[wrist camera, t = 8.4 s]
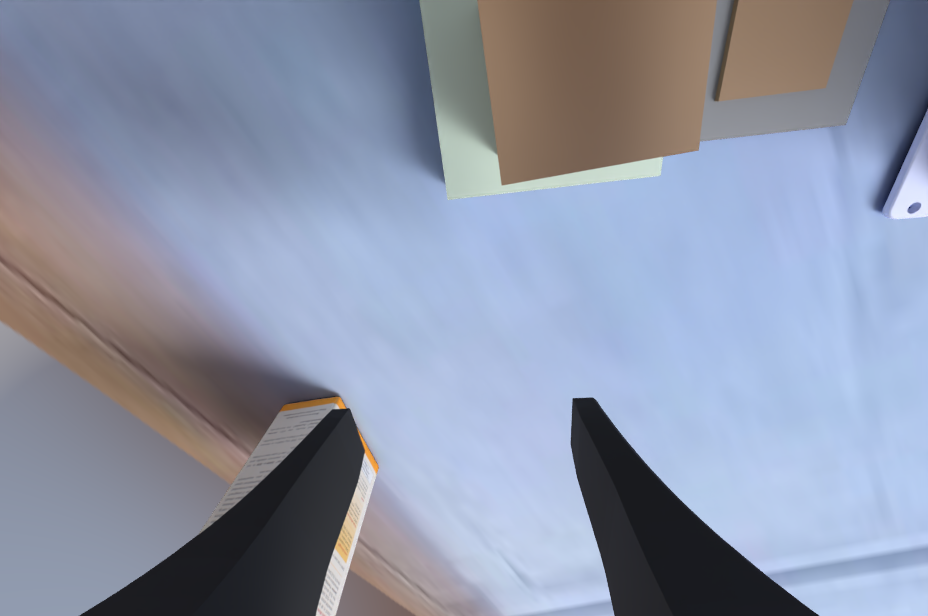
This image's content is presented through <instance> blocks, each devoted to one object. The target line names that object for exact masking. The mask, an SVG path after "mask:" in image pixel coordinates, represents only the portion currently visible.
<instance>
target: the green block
mask: <svg viewBox="0 0 928 616" xmlns="http://www.w3.org/2000/svg"><path fill="white" fill-rule="evenodd" d="M419 2H420V9H421V16H422V23H423V30H424V37H425V44H426V51H427V58H428V65H429V72H430V79H431V86H432V93H433V100H434V107H435V114H436V121H437V128H438V135H439V142H440V149H441V156H442V163H443V170H444V177H445V184H446V191H447V198H448V200H451V199H460V198H469V197H478V196H487V195H495V194H504V193H513V192H522V191H531V190H540V189H548V188H557V187H566V186H575V185H584V184H592V183H601V182H610V181H619V180H628V179H636V178H645V177H654V176H660V175H661V168H662V160H663V157H658V158H653V159H647V160H642V161H636V162H631V163H625V164H620V165H614V166H608V167H603V168H597V169H592V170H586V171H581V172H575V173H569V174H564V175H558V176H553V177H547V178H542V179H536V180H530V181H525V182H519V183H514V184H508V185H503V186H502V184H501V177H500V169H499V162H498V154H497V147H496V139H495V131H494V124H493V116H492V109H491V101H490V94H489V86H488V78H487V71H486V63H485V56H484V48H483V41H482V33H481V25H480V18H479V10H478V3H477V0H419Z"/></svg>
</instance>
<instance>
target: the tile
mask: <svg viewBox="0 0 928 616" xmlns="http://www.w3.org/2000/svg"><path fill="white" fill-rule="evenodd" d="M889 2H890V0H717V5H716V13H715V21H714V29H713V37H712V45H711V53H710V62H709V70H708V78H707V86H706V94H705V102H704V110H703V118H702V126H701V135H700V141H709V140H718V139H727V138H735V137H744V136H753V135H762V134H771V133H779V132H788V131H797V130H806V129H815V128H823V127H832V126H841V125H846V123H847V120H848V117H849V114H850V112H851V109H852V106H853V103H854V100H855V98H856V95H857V92H858V89H859V86H860V84H861V81H862V78H863V75H864V72H865V70H866V67H867V64H868V61H869V58H870V56H871V53H872V50H873V47H874V44H875V42H876V39H877V36H878V33H879V30H880V28H881V25H882V22H883V19H884V16H885V14H886V11H887V8H888V5H889Z"/></svg>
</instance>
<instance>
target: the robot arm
mask: <svg viewBox="0 0 928 616" xmlns="http://www.w3.org/2000/svg"><path fill="white" fill-rule="evenodd" d="M910 205H912V206H911V207H910V209H908V208H909V206H910ZM882 213H883V215H884V216H885V217H887V218H890V219H907V218H918V217H928V109H927V112H926V114H925V116H924V118H923V121H922V123H921V125H920V127H919V130H918V132H917V134H916V136H915V139H914V141H913V143H912V145H911V147H910V150H909V152H908V154H907V156H906V159H905V161H904V163H903V165H902V168H901V170H900V172H899V174H898V177H897V179H896V181H895V183H894V185H893V188H892V190H891V192H890V194H889V197H888V199H887V201H886V203H885V206H884V208H883V212H882ZM571 448H572V453H573V459H574V464H575V469H576V474H577V478H578V482H579V485H580V488H581V492H582V495H583V498H584V502H585V505H586V508H587V512H588V515H589V518H590V521H591V525H592V528H593V531H594V535H595V538H596V541H597V544H598V548H599V551H600V554H601V558H602V562H603V566H604V569H605V573H606V578H607V582H608V587H609V592H610V596H611V601H612V606H613V610H614V615H615V616H819V615H818V614H816V613H815V612H813V611H812V610H811V609H809V608H808V607H807V606H805V605H804V604H803V603H801V602H800V601H799V600H797V599H796V598H795V597H794V596H792V595H791V594H790V593H788V592H787V591H786V590H784V589H783V588H782V587H781V586H779V585H778V584H777V583H775V582H774V581H773V580H772V579H770V578H769V577H768V576H766V575H765V574H764V573H763V572H762V571H760V570H759V569H758V568H757V567H756V566H754V565H753V564H752V563H751V562H750V561H748V560H747V559H746V558H745V557H744V556H742V555H741V554H740V553H739V552H738V551H736V550H735V549H734V548H733V547H732V546H730V545H729V544H728V543H727V542H726V541H724V540H723V539H722V538H721V537H720V536H719V535H717V534H716V533H715V532H714V531H713V530H712V529H711V528H710V527H709V526H708V525H706V524H705V523H704V522H703V521H702V520H701V519H700V518H699V517H698V516H697V515H696V514H695V513H693V512H692V511H691V510H690V509H689V508H688V507H687V506H686V505H685V504H684V503H683V502H682V501H681V500H680V499H679V498H678V497H677V496H676V495H675V494H674V493H673V492H672V491H671V490H670V489H669V488H668V487H667V486H666V485H665V484H664V483H663V482H662V481H661V479H660V478H659V477H658V476H657V475H656V474H655V473H654V472H653V471H652V470H651V469H650V468H649V466H648V465H647V464H646V463H645V462H644V461H643V460H642V458H641V457H640V456H639V455H638V454H637V453H636V451H635V450H634V449H633V448H632V447H631V445H630V444H629V443H628V442H627V441H626V439H625V438H624V437H623V436H622V435H621V433H620V432H619V431H618V429H617V428H616V427H615V426H614V424H613V423H612V422H611V420H610V419H609V418H608V416H607V415H606V413H605V412H604V411H603V409H602V408H601V406H600V405H599V404H598V402H597V401H596V400H595V399H594V398H573V403H572V426H571ZM364 454H365V449H364V446H363V443H362V441H361V438H360V435H359V432H358V430H357V427H356V424H355V421H354V419H353V416H352V413H351V410H350V408H348V409H332V410H331V411H330V412H329V413H328V414H327V415H326V416H325V417H324V418H323V419H322V420H321V421H320V422H319V423H318V424H317V425H316V427H315V428H314V429H313V430H312V431H311V432H310V433H309V434H308V435H307V436H306V437H305V438H304V439H303V440H302V441H301V442H300V443H299V444H298V445H297V446H296V447H295V448H294V449H293V451H292V452H291V453H290V454H289V455H288V456H287V457H286V458H285V459H284V460H283V461H282V462H281V463H280V464H279V465H278V466H277V467H276V468H275V469H273V470H272V471H271V472H270V473H269V474H268V475H267V476H266V477H265V478H264V479H263V480H262V481H261V482H260V483H259V484H258V485H257V486H256V487H255V488H254V489H253V490H251V491H250V492H249V493H248V494H247V495H246V496H245V497H244V498H243V499H241V500H240V501H239V502H238V503H237V504H236V505H235V506H233V507H232V508H231V509H230V510H229V511H227V512H226V513H225V514H224V515H223V516H221V517H220V518H219V519H218V520H217V521H215V522H214V523H213V524H212V525H210V526H209V527H208V528H206V529H205V530H204V531H203V532H201V533H200V534H199V535H197V536H196V537H195V538H193V539H192V540H191V541H189V542H188V543H187V544H185V545H184V546H183V547H182V548H180V549H179V550H178V551H176V552H175V553H174V554H172V555H171V556H169V557H168V558H167V559H165V560H164V561H162V562H161V563H159V564H158V565H157V566H155V567H154V568H152V569H151V570H150V571H148V572H147V573H145V574H144V575H142V576H141V577H139V578H138V579H136V580H135V581H133V582H132V583H130V584H129V585H127V586H126V587H124V588H123V589H121V590H120V591H118V592H117V593H115V594H113V595H112V596H110V597H109V598H107V599H106V600H104V601H102V602H101V603H99V604H97V605H96V606H94V607H93V608H91V609H89V610H88V611H86V612H85V613H83V614H81V615H80V616H316V612H317V608H318V604H319V600H320V596H321V593H322V589H323V585H324V581H325V577H326V574H327V570H328V567H329V564H330V560H331V557H332V554H333V551H334V549H335V546H336V543H337V540H338V537H339V535H340V532H341V529H342V526H343V523H344V521H345V518H346V515H347V512H348V510H349V507H350V504H351V501H352V498H353V495H354V492H355V490H356V487H357V484H358V480H359V476H360V472H361V468H362V463H363V458H364Z"/></svg>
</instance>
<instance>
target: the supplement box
mask: <svg viewBox="0 0 928 616" xmlns="http://www.w3.org/2000/svg"><path fill="white" fill-rule="evenodd" d="M332 409H346V407H345V405H344V403H343V402H342V400H341V398H340V397H331V398H322V399H317V400H310V401H304V402H298V403H291V404H286V405H284V406H283V407H282V409H281V410H280V412H279V413H278V415H277V416H276V418H275V419H274V421H273V422H272V424H271V425H270V427H269V428H268V430H267V431H266V433H265V434H264V436H263V437H262V439H261V440H260V442H259V443H258V445H257V447H256V448H255V449H254V451H253V453H252V454H251V456H250V457H249V459H248V460H247V462H246V463H245V465H244V466H243V468H242V469H241V471H240V472H239V474H238V475H237V477H236V478H235V480H234V481H233V483H232V484H231V486H230V488H229V489H228V491H227V492H226V494H225V495H224V497H223V498H222V500H221V502H220V503H219V504H218V505H217V507H216V509H215V510H214V512H213V513H212V515H211V516H210V518H209V519H208V521H207V522H206V524H205V525H204V527H203V528H202V530H201V531H200V533H201V532H203V531H204V530H205V529H206V528H208V527H209V526H210V525H212V524H213V523H214V522H215V521H217V520H218V519H219V518H220V517H221V516H223V515H224V514H225V513H226V512H227V511H229V510H230V509H231V508H232V507H233V506H235V505H236V504H237V503H238V502H239V501H240V500H241V499H243V498H244V497H245V496H246V495H247V494H248V493H249V492H250V491H251V490H253V489H254V488H255V487H256V486H257V485H258V484H259V483H260V482H261V481H262V480H263V479H264V478H265V477H266V476H267V475H268V474H269V473H270V472H271V471H272V470H273V469H275V468H276V467H277V466H278V465H279V464H280V463H281V462H282V461H283V460H284V459H285V458H286V457H287V456H288V455H289V454H290V453H291V452H292V451H293V449H294V448H295V447H296V446H297V445H298V444H299V443H300V442H301V441H302V440H303V439H304V438H305V437H306V436H307V435H308V434H309V433H310V432H311V431H312V430H313V429H314V428H315V427H316V425H317V424H318V423H319V422H320V421H321V420H322V419H323V418H324V417H325V416H326V415H327V414H328V413H329V412H330V411H331V410H332ZM357 430H358V429H357ZM358 432H359V430H358ZM359 435H360V438H361V441H362V443H363V446H364V449H365V454H364V458H363V463H362V468H361V472H360V476H359V480H358V484H357V487H356V490H355V492H354V495H353V498H352V501H351V504H350V507H349V510H348V512H347V515H346V518H345V521H344V523H343V526H342V529H341V532H340V535H339V537H338V540H337V543H336V546H335V549H334V551H333V554H332V557H331V560H330V564H329V567H328V570H327V574H326V577H325V581H324V585H323V589H322V593H321V596H320V600H319V604H318V608H317V612H316V616H335V615H336V612H337V608H338V605H339V601H340V597H341V594H342V591H343V587H344V584H345V580H346V577H347V574H348V570H349V567H350V563H351V560H352V556H353V553H354V549H355V546H356V542H357V540H358V536H359V532H360V529H361V526H362V523H363V519H364V516H365V512H366V508H367V505H368V502H369V498H370V495H371V491H372V488H373V485H374V481H375V478H376V475H377V471H378V468H379V467H378V465H377V463H376V461H375V460H374V458H373V456H372V454H371V452H370V450H369V449H368V447H367V445H366V443H365V441H364V440H363V438H362V436H361V434H360V432H359ZM200 533H199V534H200Z"/></svg>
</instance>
